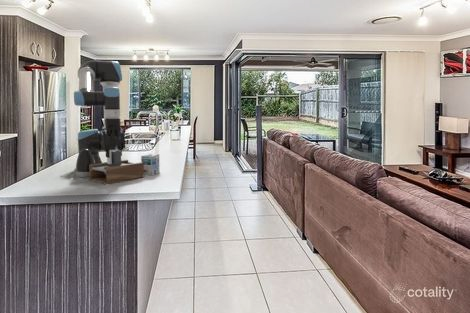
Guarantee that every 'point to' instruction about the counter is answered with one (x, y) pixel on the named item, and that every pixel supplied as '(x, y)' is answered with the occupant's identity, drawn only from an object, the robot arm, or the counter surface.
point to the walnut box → (117, 172)
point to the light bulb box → (150, 164)
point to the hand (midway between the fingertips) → (114, 163)
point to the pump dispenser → (84, 163)
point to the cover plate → (101, 168)
